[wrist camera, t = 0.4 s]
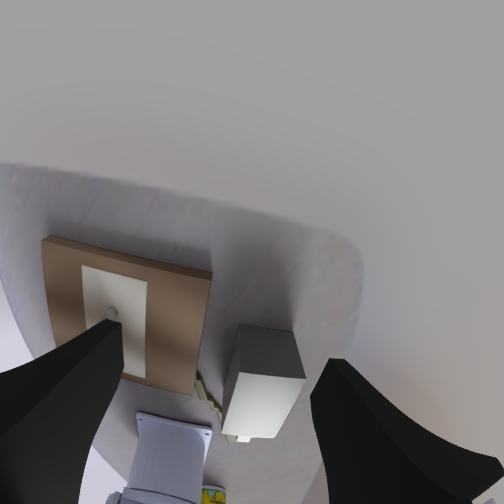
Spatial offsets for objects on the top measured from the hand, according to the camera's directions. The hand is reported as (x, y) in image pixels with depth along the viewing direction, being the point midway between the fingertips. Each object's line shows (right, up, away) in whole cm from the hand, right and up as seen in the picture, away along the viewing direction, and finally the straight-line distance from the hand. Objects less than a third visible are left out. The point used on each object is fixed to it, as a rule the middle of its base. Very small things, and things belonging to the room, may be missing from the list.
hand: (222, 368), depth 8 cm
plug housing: (+1, -6, +12) cm, 13 cm away
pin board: (-9, -1, +10) cm, 14 cm away
